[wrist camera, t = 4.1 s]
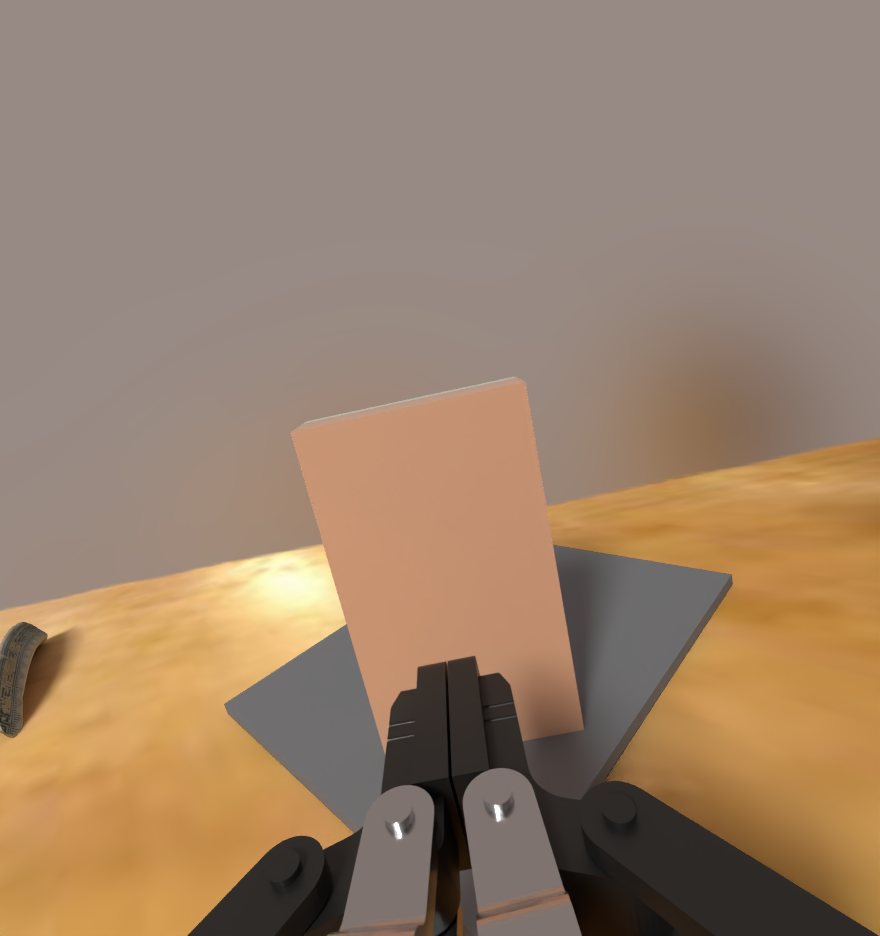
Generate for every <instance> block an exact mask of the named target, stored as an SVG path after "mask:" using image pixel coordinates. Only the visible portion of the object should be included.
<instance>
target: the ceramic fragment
mask: <svg viewBox="0 0 880 936" xmlns="http://www.w3.org/2000/svg"><path fill="white" fill-rule="evenodd" d="M47 637H48V635H47V634H46V633H45V632H43V631H42V630H40V629H38V628H37V627H35V626H33V625H32V624H29V623H26V622H21V623H18V624H16V625H15V626H13V627H12V628H11V629H10V630H9V631H8V632H7V633H6V634H5V636H4V638H3V640H2V642H1V643H0V732H1V733H3V734H4V735H6V736H7V737H16V736H17V735H18V733H19V732H20V731H21V729H22V727H23V700H22V697H23V694H24V689H25V683H26V679H27V675H28V670H29V667H30V663H31V660H32V657H33V655H34V652H35V650H36V648H37V647H38V646H40V645H41V644H42V643H43V642H44V641H45V640H46V639H47Z"/></svg>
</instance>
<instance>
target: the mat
mask: <svg viewBox="0 0 880 936" xmlns="http://www.w3.org/2000/svg"><path fill="white" fill-rule="evenodd" d="M553 548H554V554H555V560H556V566H557V572H558V577H559V583H560V589H561V595H562V601H563V607H564V613H565V619H566V625H567V631H568V637H569V642H570V648H571V654H572V660H573V666H574V672H575V678H576V684H577V690H578V696H579V701H580V707H581V713H582V719H583V725H584V730H580V731H575V732H569V733H564V734H559V735H553V736H548V737H542V738H537V739H531V740H526V741H523V745H524V750H525V754H526V759H527V763H528V768H529V771H530V774H531V776H532V777H533V779H534V780H535V782H536V783H537V784H538V785H539V786H540V787H541V788H543V789H544V790H546V791H547V792H549V793H551V794H553V795H556V796H559V797H564V798H570V799H578V800H582V798H583V797H584V795H585V794H586V793H587V792H588V791H589V790H590V789H591V788H593V787H594V786H596V785H598V784H601V783H603V782H604V780H605V779H606V777H607V776H608V774H609V773H610V771H611V770H612V768H613V766H614V765H615V763H616V762H617V760H618V759H619V757H620V756H621V754H622V753H623V751H624V750H625V748H626V747H627V745H628V743H629V742H630V740H631V739H632V737H633V736H634V734H635V733H636V731H637V730H638V728H639V727H640V725H641V724H642V722H643V720H644V719H645V717H646V716H647V714H648V713H649V711H650V710H651V708H652V707H653V705H654V704H655V702H656V701H657V699H658V697H659V696H660V694H661V693H662V691H663V690H664V688H665V687H666V685H667V684H668V682H669V681H670V679H671V678H672V676H673V675H674V673H675V671H676V670H677V668H678V667H679V665H680V664H681V662H682V661H683V659H684V658H685V656H686V655H687V653H688V652H689V650H690V648H691V647H692V645H693V644H694V642H695V641H696V639H697V638H698V636H699V635H700V633H701V632H702V630H703V629H704V627H705V625H706V624H707V622H708V621H709V619H710V618H711V616H712V615H713V613H714V612H715V610H716V609H717V607H718V606H719V604H720V602H721V601H722V599H723V598H724V596H725V595H726V593H727V592H728V590H729V589H730V587H731V586H732V574H726V573H720V572H713V571H707V570H701V569H695V568H689V567H683V566H677V565H671V564H665V563H659V562H653V561H647V560H641V559H635V558H629V557H623V556H617V555H611V554H605V553H599V552H593V551H587V550H581V549H575V548H568V547H562V546H556V545H553ZM224 705H225V708H226V710H227V713H228V714H229V715H230V716H231V717H232V718H233V719H234V720H235V721H236V722H237V723H238V724H239V725H240V726H241V727H243V728H244V729H245V730H246V731H247V732H248V733H249V734H250V735H251V736H252V737H253V738H254V739H255V740H256V741H257V742H258V743H259V744H261V745H262V746H263V747H264V748H265V749H266V750H267V751H268V752H269V753H270V754H271V755H272V756H273V757H274V758H275V759H276V760H278V761H279V762H280V763H281V764H282V765H283V766H284V767H285V768H286V769H287V770H288V771H289V772H290V773H291V774H292V775H293V776H294V777H296V778H297V779H298V780H299V781H300V782H301V783H302V784H303V785H304V786H305V787H306V788H307V789H308V790H309V791H310V792H311V793H312V794H314V795H315V796H316V797H317V798H318V799H319V800H320V801H321V802H322V803H323V804H324V805H325V806H326V807H327V808H328V809H329V810H330V811H332V812H333V813H334V814H335V815H336V816H337V817H338V818H339V819H340V820H341V821H342V822H343V823H344V824H345V825H346V826H347V827H348V828H350V829H351V830H352V831H353V832H354V833H356V832H357V831H358V830H360V829H361V828H362V827H363V826H364V821H365V818H366V815H367V812H368V810H369V808H370V807H371V805H372V804H373V803H374V802H375V801H376V799H377V798H379V797H380V796H381V789H382V780H383V771H384V763H385V753H384V749H383V746H382V743H381V739H380V736H379V732H378V729H377V726H376V722H375V719H374V715H373V712H372V709H371V705H370V702H369V698H368V695H367V691H366V688H365V685H364V681H363V678H362V674H361V671H360V668H359V664H358V661H357V657H356V654H355V651H354V647H353V644H352V640H351V637H350V634H349V630H348V627H347V624H346V625H345V626H343V627H342V628H340V629H339V630H337V631H335V632H334V633H332V634H331V635H329V636H328V637H326V638H325V639H323V640H322V641H320V642H319V643H317V644H316V645H314V646H312V647H311V648H309V649H308V650H306V651H305V652H303V653H302V654H300V655H299V656H297V657H296V658H294V659H293V660H291V661H289V662H288V663H286V664H285V665H283V666H282V667H280V668H279V669H277V670H276V671H274V672H273V673H271V674H270V675H268V676H266V677H265V678H263V679H262V680H260V681H259V682H257V683H256V684H254V685H253V686H251V687H250V688H248V689H247V690H245V691H243V692H242V693H240V694H239V695H237V696H236V697H234V698H233V699H231V700H230V701H228V702H227V703H225V704H224ZM460 892H461V896H460V903H461V907H462V911H463V936H478V931H477V921H476V915H478V908H477V900H476V893H475V887H474V880H473V873H472V869H468V870H462V871H460Z"/></svg>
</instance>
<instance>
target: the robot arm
mask: <svg viewBox="0 0 880 936" xmlns="http://www.w3.org/2000/svg"><path fill="white" fill-rule="evenodd" d="M387 739H388V742H387V746H386V754H385V763H384V771H383V780H382V789H381V796H380V797H379V798H377V799H376V801H375V802H374V803H373V804H372V805H371V807H370V808H369V810H368V812H367V815H366V818H365V821H364V826H363V827H362V828H361V829H360V830H358V831H357V832H356V833H354V834H353V835H351V836H349V837H347V838H345V839H344V840H342V841H340V842H338V843H336V844H334V845H332V846H330V847H328V848H326V849H324V850H323V848H322V846H321V845H320V843H319V842H318V841H317V840H315V839H314V838H312V837H308V836H296V837H292V838H289V839H287V840H284V841H282V842H281V843H279V844H277V845H276V846H275V847H273V848H272V849H271V850H270V851H268V852H267V853H266V854H265V855H264V856H263V857H262V858H261V859H260V860H259V862H258V863H257V864H256V865H255V866H254V867H253V868H252V869H251V870H250V871H249V872H248V873H247V874H246V875H245V876H244V877H243V878H242V879H241V880H240V881H239V882H238V883H237V885H236V886H235V887H234V888H233V889H232V890H231V891H230V892H229V893H228V894H227V895H226V896H225V897H224V898H223V899H222V900H221V901H220V902H219V903H218V904H217V905H216V906H215V907H214V909H213V910H212V911H211V912H210V913H209V914H208V915H207V916H206V917H205V918H204V919H203V920H202V921H201V922H200V923H199V924H198V925H197V926H196V927H195V928H194V929H193V930H192V932H191V933H190V934H189V935H188V936H463V911H462V907H461V903H460V896H461V892H460V871H462V870H468V869H472V873H473V880H474V887H475V893H476V900H477V908H478V915H476V921H477V931H478V936H878V935H877V934H875V933H873V932H872V931H870V930H869V929H867V928H865V927H864V926H862V925H861V924H859V923H857V922H856V921H854V920H852V919H851V918H849V917H848V916H846V915H844V914H843V913H841V912H839V911H838V910H836V909H835V908H833V907H831V906H830V905H828V904H827V903H825V902H823V901H822V900H820V899H818V898H817V897H815V896H814V895H812V894H810V893H809V892H807V891H805V890H804V889H802V888H801V887H799V886H797V885H796V884H794V883H793V882H791V881H789V880H788V879H786V878H784V877H783V876H781V875H780V874H778V873H776V872H775V871H773V870H771V869H770V868H768V867H767V866H765V865H763V864H762V863H760V862H759V861H757V860H755V859H754V858H752V857H750V856H749V855H747V854H746V853H744V852H742V851H741V850H739V849H737V848H736V847H734V846H733V845H731V844H729V843H728V842H726V841H724V840H723V839H721V838H720V837H718V836H716V835H715V834H713V833H712V832H710V831H708V830H707V829H705V828H703V827H702V826H700V825H699V824H697V823H695V822H694V821H692V820H690V819H689V818H687V817H686V816H684V815H682V814H681V813H679V812H678V811H676V810H674V809H673V808H671V807H669V806H668V805H666V804H665V803H663V802H661V801H660V800H658V799H656V798H655V797H653V796H652V795H650V794H648V793H647V792H645V791H644V790H642V789H640V788H638V787H636V786H634V785H632V784H629V783H625V782H619V781H610V782H604V783H601V784H598V785H596V786H594V787H593V788H591V789H590V790H589V791H588V792H587V793H586V794H585V795H584V797H583V798H582V800H578V799H570V798H564V797H559V796H556V795H553V794H551V793H549V792H547V791H546V790H544V789H543V788H541V787H540V786H539V785H538V784H537V783H536V782H535V780H534V779H533V777H532V776H531V774H530V771H529V768H528V763H527V759H526V754H525V750H524V745H523V740H522V736H521V731H520V727H519V722H518V717H517V713H516V708H515V704H514V699H513V694H512V690H511V685H510V684H509V683H508V682H507V680H506V679H505V678H504V677H503V676H502V675H501V674H500V673H499V672H498V673H493V674H488V675H483V676H480V673H479V669H478V664H477V660H476V657H475V656H470V657H465V658H460V659H455V660H449V661H448V662H447V663H446V661H445V662H440V663H435V664H429V665H424V666H419V667H418V669H417V688H416V689H410V690H405V691H401V692H400V693H399V695H398V697H397V698H396V700H395V702H394V703H393V705H392V707H391V711H390V720H389V728H388V737H387Z"/></svg>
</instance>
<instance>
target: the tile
mask: <svg viewBox="0 0 880 936" xmlns="http://www.w3.org/2000/svg"><path fill="white" fill-rule="evenodd" d="M291 436H292V438H293V443H294V446H295V449H296V453H297V456H298V460H299V463H300V466H301V469H302V473H303V477H304V480H305V483H306V487H307V490H308V494H309V497H310V501H311V504H312V507H313V511H314V514H315V517H316V521H317V524H318V528H319V531H320V535H321V538H322V541H323V545H324V548H325V552H326V555H327V558H328V562H329V565H330V569H331V572H332V576H333V579H334V582H335V586H336V589H337V593H338V596H339V599H340V603H341V606H342V610H343V613H344V616H345V620H346V623H347V627H348V630H349V634H350V637H351V640H352V644H353V647H354V651H355V654H356V657H357V661H358V664H359V668H360V671H361V674H362V678H363V681H364V685H365V688H366V691H367V695H368V698H369V702H370V705H371V709H372V712H373V715H374V719H375V722H376V726H377V729H378V732H379V736H380V739H381V743H382V746H383V749H384V753H385V754H386V746H387V742H388V739H387V737H388V728H389V720H390V711H391V707H392V705H393V703H394V702H395V700H396V698H397V697H398V695H399V693H400V692H401V691H405V690H410V689H416V688H417V669H418V667H419V666H424V665H429V664H435V663H440V662H445V661H446V663H447V662H448V661H449V660H455V659H460V658H465V657H470V656H475V657H476V660H477V664H478V669H479V673H480V676H483V675H488V674H493V673H498V672H499V673H500V674H501V675H502V676H503V677H504V678H505V679H506V680H507V682H508V683H509V684H510V685H511V690H512V694H513V699H514V704H515V708H516V713H517V717H518V722H519V727H520V731H521V736H522V740H523V741H526V740H531V739H537V738H542V737H548V736H553V735H559V734H564V733H569V732H575V731H580V730H584V725H583V719H582V713H581V707H580V701H579V696H578V690H577V684H576V678H575V672H574V666H573V660H572V654H571V648H570V642H569V637H568V631H567V625H566V619H565V613H564V607H563V601H562V595H561V589H560V583H559V577H558V572H557V566H556V560H555V554H554V548H553V542H552V536H551V530H550V524H549V518H548V513H547V507H546V501H545V495H544V489H543V483H542V477H541V471H540V465H539V460H538V454H537V448H536V442H535V436H534V430H533V424H532V418H531V412H530V407H529V400H528V395H527V389H526V383H525V381H523V380H521V379H519V378H517V377H511V378H506V379H501V380H497V381H492V382H488V383H483V384H478V385H474V386H469V387H465V388H460V389H455V390H450V391H446V392H441V393H437V394H432V395H427V396H422V397H418V398H414V399H409V400H404V401H400V402H395V403H390V404H385V405H381V406H377V407H372V408H368V409H362V410H358V411H353V412H348V413H344V414H340V415H335V416H330V417H325V418H321V419H316V420H312V421H307V422H305V423H304V424H302V425H301V426H299V427H298V428H296V429H295V430H293V431H292V432H291Z"/></svg>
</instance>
